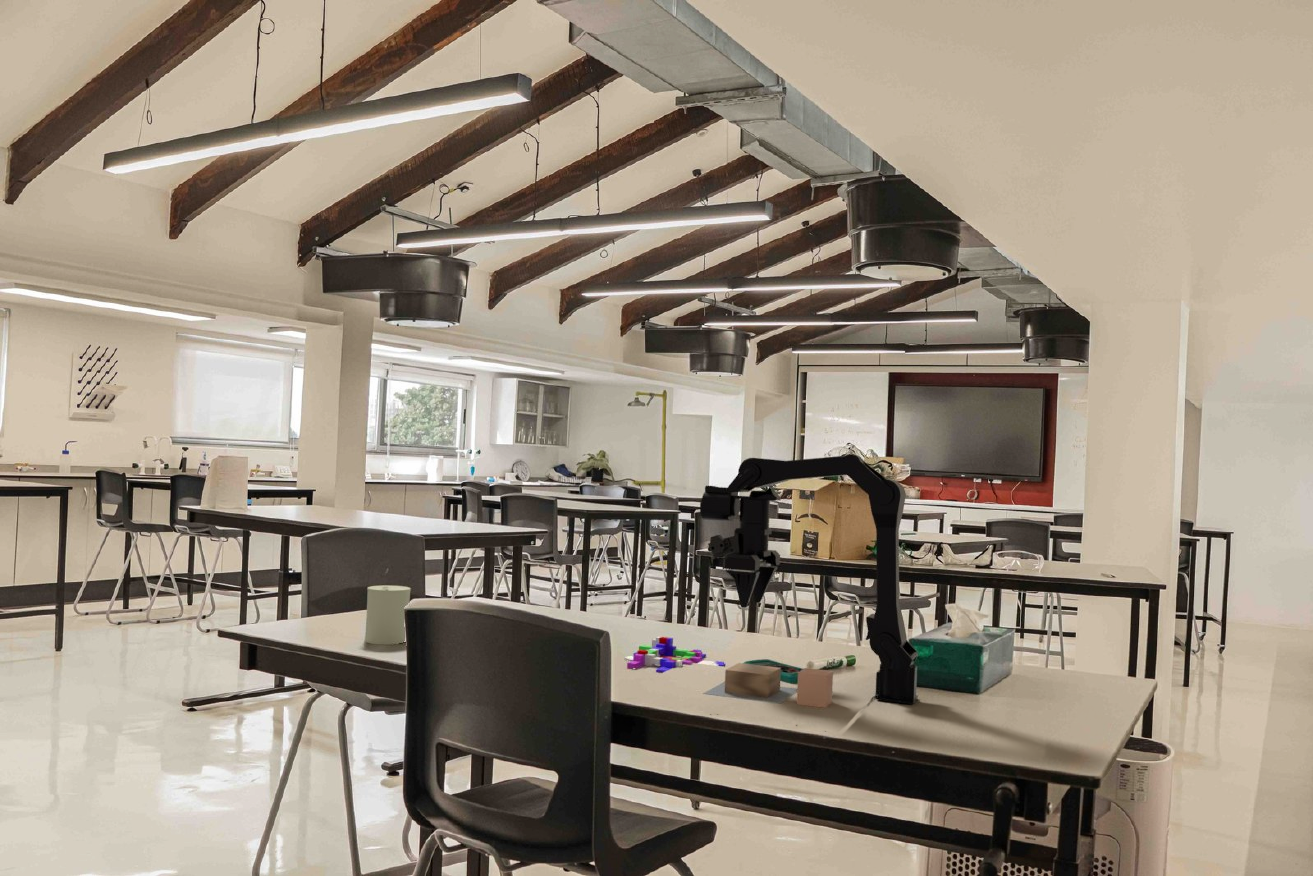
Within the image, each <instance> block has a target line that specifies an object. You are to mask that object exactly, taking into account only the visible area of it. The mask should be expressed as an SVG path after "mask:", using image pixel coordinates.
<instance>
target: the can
mask: <svg viewBox="0 0 1313 876" xmlns="http://www.w3.org/2000/svg"><path fill="white" fill-rule="evenodd" d="M366 590H367V597H366V598H367V599H366V618H365V619H366V621H365V633H364V634H365V635H364V640H363V641H364V642H365V643H366V644H370V645H378V646H379V645H380V646H383V645H384V646H392V645H393V644H396V645H400V644H399V643H403V642H404V641H405V627H404V607H405V606H406V605H407V604H408V603H409V604H410V600H411V590H412V588H411V587H410V586H409V587H408V586H403V585H383V584H382V585H372V586H368V587H367V589H366ZM403 644H404V643H403Z"/></svg>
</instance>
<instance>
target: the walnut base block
mask: <svg viewBox="0 0 1313 876" xmlns="http://www.w3.org/2000/svg"><path fill="white" fill-rule="evenodd" d="M743 663H744V662H742V663H741V662H738V663H736V664H734V665H732V666H730V667H728V668H726V669H725V673H724V676H725V677H724V682H725V693H732V694H740V695H748V696H756V697H764V698H769V697H770V696H772V695H773V694H775V693H776V692H778V691H779V690H780V687H781V681H780V678H781V668H778V667H769V666H761V665H752V664H743Z"/></svg>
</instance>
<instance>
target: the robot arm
mask: <svg viewBox="0 0 1313 876" xmlns="http://www.w3.org/2000/svg"><path fill="white" fill-rule="evenodd" d="M840 476H841V477H842V476H843V477H844V476H847V477H848V478H850V479H851V480H852V482H854V483H855V484H856V485H857V486H858V487H859V488H860V489H861V490H862V491H864V492H865V493H866V494H867V495H868V500H869V506H870V511H871V515H872V520H873V523H874V526H875V533H876V539H875V541H876V543H875V546H876V547H875V548H876V550H875V551H876V552H875V553H876V555H875V556H876V606H875V612H874V613H871V614H870V615H867V616H866V617H865V620H866V627H867V633H866V634H867V635H866V637H865V640H866V641H868V640H869V647H870V649H871V651H872V652H874V654H875V655H876V656H878V659H879V662H880V664H879V670H878V671H876V675H875V695H876V700H878V701H883V702H884V701H885V702H890V703H899V704H908V705H914V704H915V702H916V701H917V700H918V697H919V695H917V683H918V681H917V680H918V665H914V663H916V660H917V659H918V656H919V652H918V651H917V649H916V648H915V647H914V646H913V645H912V643H910V641H908V640H907V639H908V637H907V631H906V627H905V621H904V617H903V613H902V610H901V605H900V553H899V552H900V545H899V544H900V542H899V541H900V538H899V537H900V536H899V535H900V533H899V530H900V525H901V522H902V516H903V515H904V514H903V513H904V507H905V502H906V497H907V496H906V495H907V494H906V490H905V487H904V486H903V485H902V484H901V483H900V482H898V481H897V480H895V479H890V478H889V479H887V478H886V477H885V476H884V475H882V474H881V473H880V472H879V471H877V470H876V469H875V468H873V466H871V465H869V464H868V463H867V462H866V461H865V460H864V459H863V458H862V457H861V456H859V455H857V454H853V453H852V454H851V453H847V454H845V455H844V454H843V455H840V456H839V455H838V456H826V457H816V458H815V457H814V458H805V459H804V458H802V459H796V460H795V459H792V460H781V459H780V460H779V459H771V458H760V457H749V458H745V459H744V460H743V461H742V462H741V463H740V465H739V467H738V473H737V475H736V476H735V477H734V478H733V480H732V481H731V482H730V484H729V485H728V486H727V487H724V486H720V487H719V486H716V485H705V487H704V492H703V493H702V496H701V502H699V511H700V517H701V519H702V520H703V521H713V522H714V521H717V522H733V520H734V519H735V518H737V517H739V525H738V526H739V527H735V529H734V531H733V533H734V535H732V536H729V537H725V538H724V537H723V536H722V535H721V534H716V535H713V536H710V541H709V542H708V544H707V545H708V546H707V551H708V552H710V553H711V557H712V560H715V559H721V558H723V559H722V569H725V570H724V571H725V572H726V573H727V574H728V575H730V576H731V578H733V580H734V583H735V588H736V592H737V595H738V596H737V597H738V600H739V605H740V607H741V608H744V609H746V608H747V607H748V605H749V602H750V600H751V597H752V594H753V599H754V603H756V604H757V603H758V604H759V603H761V602H762V599H764V595H765V593H766V591H767V589H768V587H769V585H770V583H771V581H772V579H773V577H774V575H775V573H776V571H777V570H778V566H779V565H781V554H780V553H779V552H778V551H777V550H775V549H772V550H771V549H769V537H770V536H769V535H772V531H773V530H772V528H770V511H771V510H770V508H771V507H770V506H771V501H781V500H782V498H781V496H780V495H779V494H778V493H777V491H775V489H774V487H770V486H774V485H778V484H781V483H784V482H788V481H791V480H802V479H803V480H804V479H815V478H817V479H818V478H827V477H840ZM758 488H759V489H762V488H768V489H767V490H766V491H765V490H764V491H762V490H754V489H758ZM749 492H750V494H749V495H739V493H749ZM772 565H773V566H772Z"/></svg>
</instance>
